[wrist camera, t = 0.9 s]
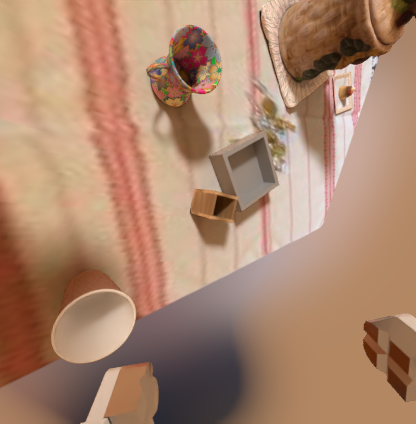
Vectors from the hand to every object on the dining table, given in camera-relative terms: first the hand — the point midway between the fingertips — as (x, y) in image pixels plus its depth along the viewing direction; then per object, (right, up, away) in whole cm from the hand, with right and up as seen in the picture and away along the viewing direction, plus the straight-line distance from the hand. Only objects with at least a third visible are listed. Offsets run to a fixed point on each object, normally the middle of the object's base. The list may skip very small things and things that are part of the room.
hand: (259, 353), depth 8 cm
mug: (-11, +30, +33) cm, 46 cm away
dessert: (+45, +47, +68) cm, 94 cm away
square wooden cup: (-3, +7, +42) cm, 43 cm away
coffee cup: (-24, -8, +31) cm, 40 cm away
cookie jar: (+23, +51, +52) cm, 76 cm away
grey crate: (+6, +16, +47) cm, 49 cm away
